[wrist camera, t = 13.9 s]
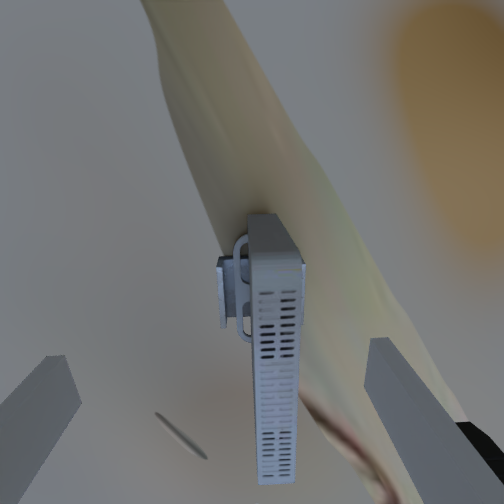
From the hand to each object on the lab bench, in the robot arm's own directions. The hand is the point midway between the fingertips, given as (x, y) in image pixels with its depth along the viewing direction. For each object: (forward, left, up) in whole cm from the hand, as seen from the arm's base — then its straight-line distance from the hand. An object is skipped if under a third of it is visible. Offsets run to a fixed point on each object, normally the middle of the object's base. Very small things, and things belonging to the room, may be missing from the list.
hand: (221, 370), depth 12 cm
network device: (+11, +4, -29) cm, 31 cm away
